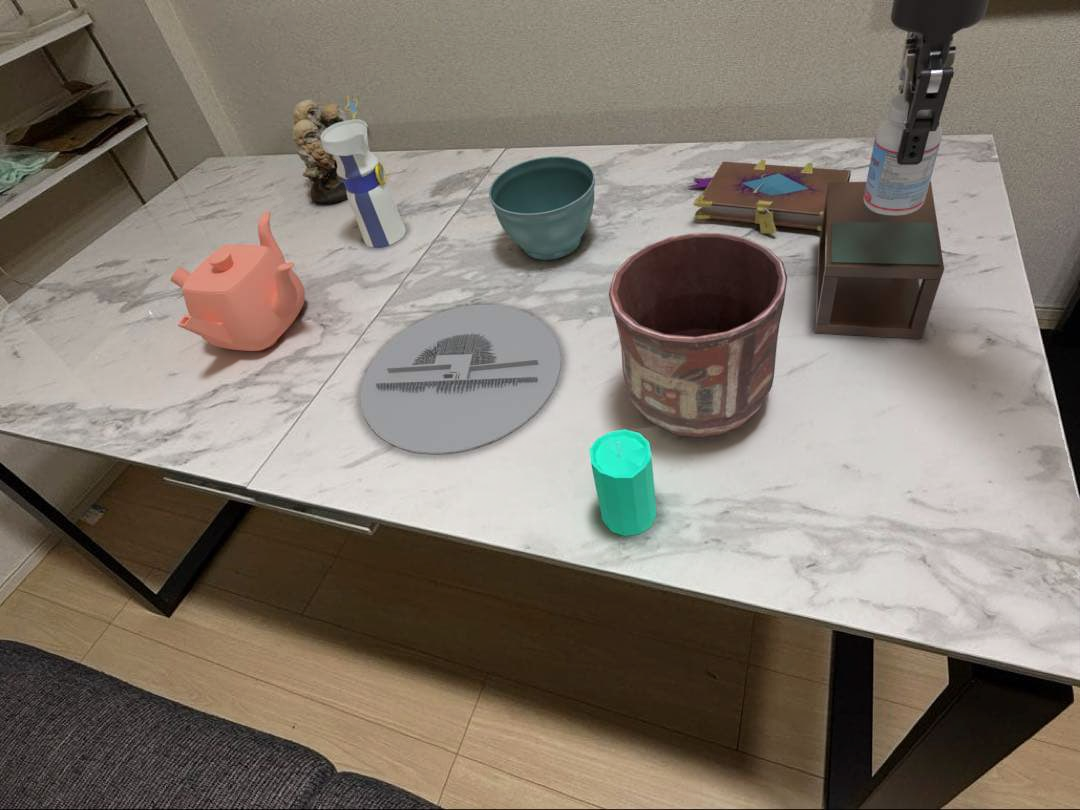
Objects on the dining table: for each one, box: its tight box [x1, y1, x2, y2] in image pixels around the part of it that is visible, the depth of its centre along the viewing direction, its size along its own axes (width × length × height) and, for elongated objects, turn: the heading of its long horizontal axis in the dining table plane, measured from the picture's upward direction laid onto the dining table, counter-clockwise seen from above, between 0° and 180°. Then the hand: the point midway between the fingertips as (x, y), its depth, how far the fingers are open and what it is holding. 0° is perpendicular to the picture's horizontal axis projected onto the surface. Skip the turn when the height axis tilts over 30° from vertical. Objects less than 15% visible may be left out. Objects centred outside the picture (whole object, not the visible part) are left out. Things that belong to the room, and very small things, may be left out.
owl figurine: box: [291, 99, 350, 204], centre depth 129 cm, size 18×12×17 cm, turn 165°
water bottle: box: [321, 95, 407, 249], centre depth 110 cm, size 8×9×25 cm
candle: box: [589, 428, 658, 537], centre depth 67 cm, size 6×6×12 cm
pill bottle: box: [864, 91, 943, 215], centre depth 69 cm, size 6×6×11 cm
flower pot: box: [488, 155, 596, 261], centre depth 104 cm, size 16×16×11 cm
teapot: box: [170, 210, 306, 352], centre depth 102 cm, size 18×18×14 cm
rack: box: [814, 180, 945, 340], centre depth 84 cm, size 12×18×11 cm, turn 163°
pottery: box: [608, 232, 788, 438], centre depth 74 cm, size 18×18×18 cm
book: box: [687, 159, 852, 234], centre depth 103 cm, size 16×25×5 cm, turn 63°
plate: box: [360, 304, 562, 455], centre depth 91 cm, size 28×28×1 cm
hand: (906, 145), depth 69 cm, fingers closed on pill bottle, 6 cm apart
